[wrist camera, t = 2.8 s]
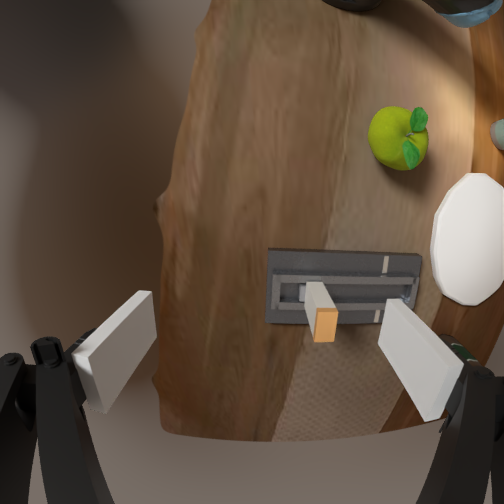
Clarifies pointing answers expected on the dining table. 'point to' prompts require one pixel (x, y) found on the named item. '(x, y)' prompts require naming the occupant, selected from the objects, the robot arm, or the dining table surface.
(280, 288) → the fader console
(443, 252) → the decorative plate
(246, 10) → the dining table surface
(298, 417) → the dining table surface
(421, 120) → the fruit
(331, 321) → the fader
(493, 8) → the robot arm
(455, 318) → the dining table surface
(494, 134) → the coffee cup
